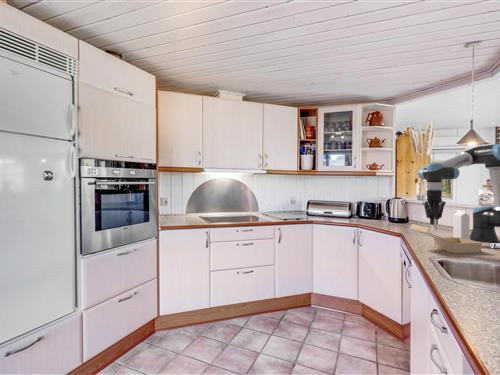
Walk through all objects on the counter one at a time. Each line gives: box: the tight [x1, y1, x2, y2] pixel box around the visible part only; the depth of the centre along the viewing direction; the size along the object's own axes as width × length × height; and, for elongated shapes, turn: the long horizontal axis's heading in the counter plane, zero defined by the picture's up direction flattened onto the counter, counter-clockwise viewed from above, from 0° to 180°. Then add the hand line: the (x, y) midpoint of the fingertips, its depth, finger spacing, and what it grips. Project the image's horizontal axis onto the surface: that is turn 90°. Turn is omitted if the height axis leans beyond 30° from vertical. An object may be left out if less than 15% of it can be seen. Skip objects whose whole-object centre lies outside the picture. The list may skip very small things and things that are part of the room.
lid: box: [409, 223, 456, 243], centre depth 167 cm, size 17×17×3 cm
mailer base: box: [433, 236, 482, 255], centre depth 168 cm, size 16×16×6 cm
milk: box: [452, 209, 471, 240], centre depth 183 cm, size 6×6×22 cm
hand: (433, 230), depth 167 cm, fingers closed
